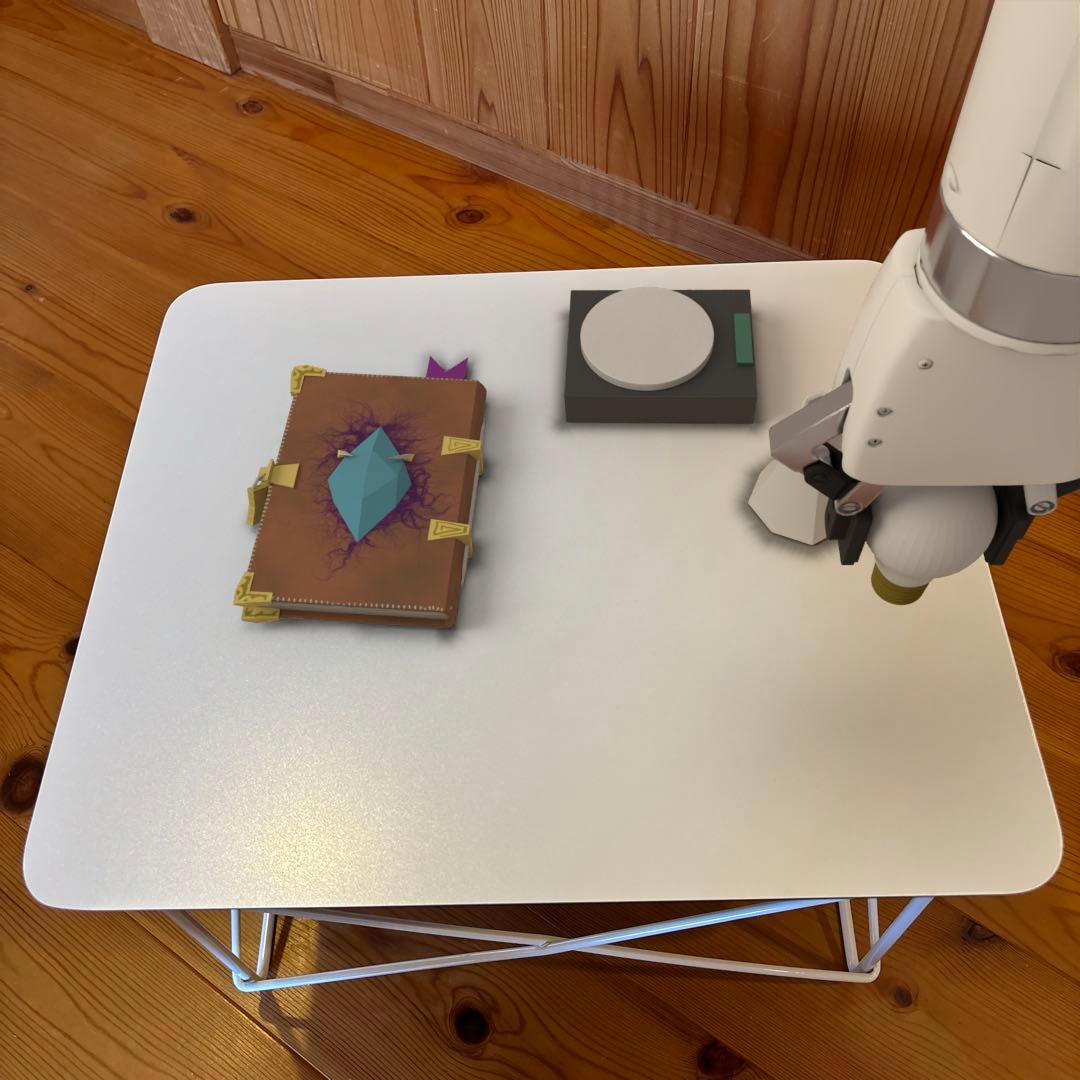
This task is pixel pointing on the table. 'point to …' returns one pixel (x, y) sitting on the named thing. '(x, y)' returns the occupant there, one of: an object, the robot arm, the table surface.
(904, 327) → the robot arm
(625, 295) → the scale
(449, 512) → the book
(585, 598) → the table surface
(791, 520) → the flask
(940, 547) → the light bulb
